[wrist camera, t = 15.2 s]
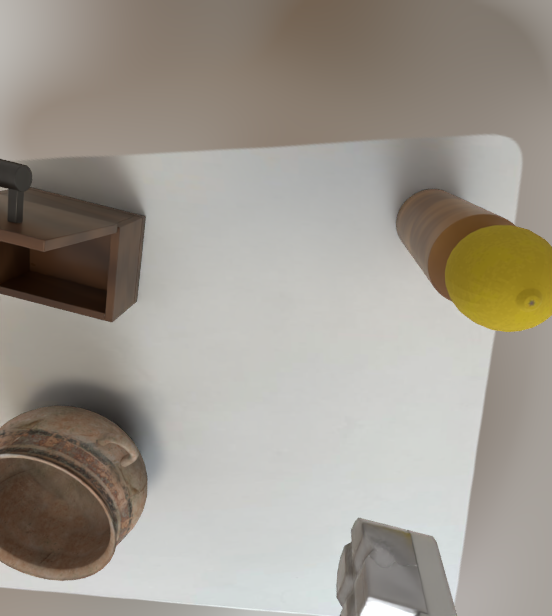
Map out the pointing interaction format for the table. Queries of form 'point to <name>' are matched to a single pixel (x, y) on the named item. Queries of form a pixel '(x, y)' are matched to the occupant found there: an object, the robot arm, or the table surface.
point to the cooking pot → (66, 491)
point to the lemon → (501, 278)
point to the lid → (40, 216)
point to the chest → (78, 263)
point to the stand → (439, 229)
